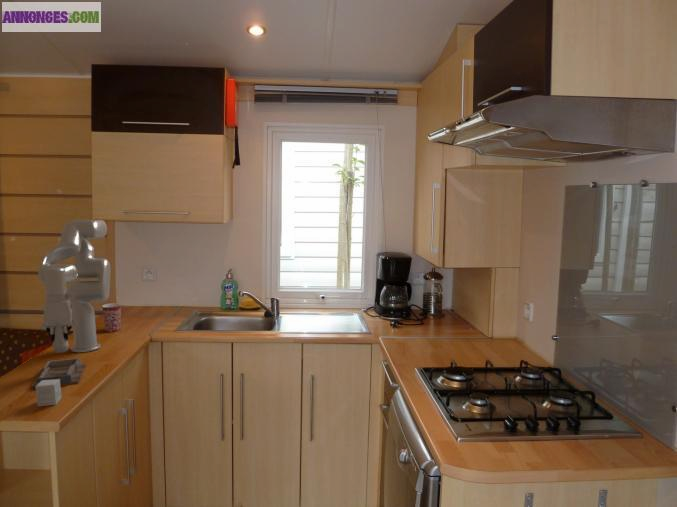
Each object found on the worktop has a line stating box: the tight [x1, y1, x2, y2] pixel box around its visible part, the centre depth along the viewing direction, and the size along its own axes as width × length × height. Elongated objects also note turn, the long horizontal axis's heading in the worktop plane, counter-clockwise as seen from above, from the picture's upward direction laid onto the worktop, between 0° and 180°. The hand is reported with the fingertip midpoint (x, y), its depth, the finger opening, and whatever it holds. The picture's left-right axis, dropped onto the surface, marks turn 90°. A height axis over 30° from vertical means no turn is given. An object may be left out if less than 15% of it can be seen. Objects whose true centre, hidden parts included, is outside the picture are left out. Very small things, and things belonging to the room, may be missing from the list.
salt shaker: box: [51, 323, 70, 354], centre depth 219 cm, size 6×6×13 cm
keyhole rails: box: [39, 357, 82, 383], centre depth 215 cm, size 22×12×2 cm, turn 18°
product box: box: [35, 379, 62, 407], centre depth 189 cm, size 6×6×7 cm
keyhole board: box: [30, 362, 87, 390], centre depth 215 cm, size 22×16×1 cm
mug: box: [101, 302, 122, 333], centre depth 284 cm, size 13×9×14 cm
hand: (60, 342), depth 219 cm, fingers closed on salt shaker, 3 cm apart
